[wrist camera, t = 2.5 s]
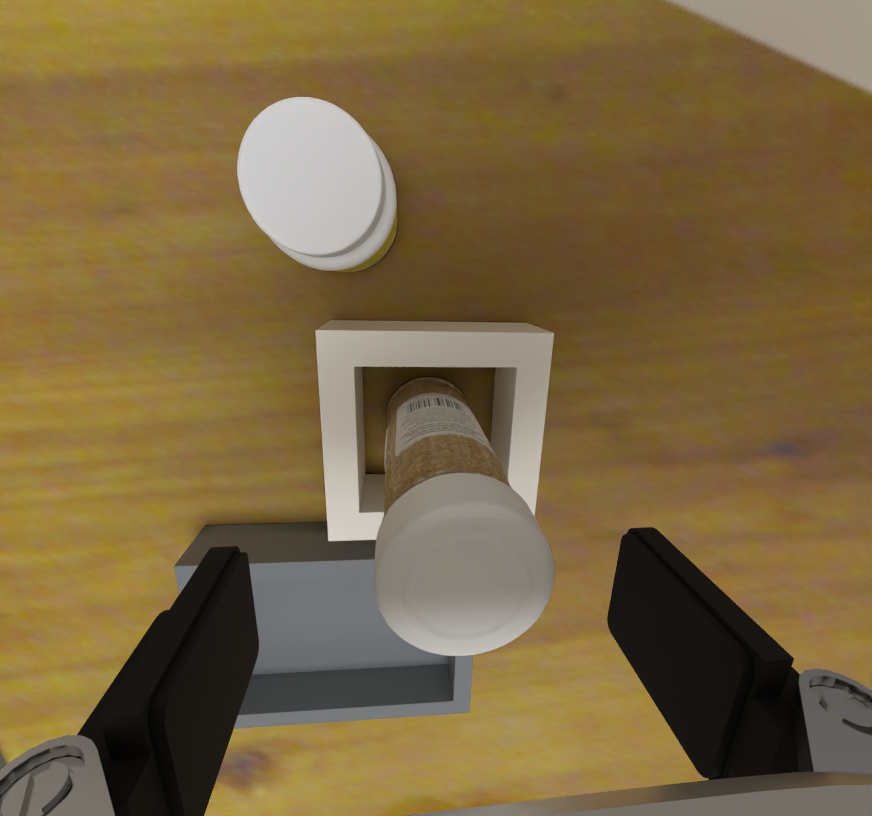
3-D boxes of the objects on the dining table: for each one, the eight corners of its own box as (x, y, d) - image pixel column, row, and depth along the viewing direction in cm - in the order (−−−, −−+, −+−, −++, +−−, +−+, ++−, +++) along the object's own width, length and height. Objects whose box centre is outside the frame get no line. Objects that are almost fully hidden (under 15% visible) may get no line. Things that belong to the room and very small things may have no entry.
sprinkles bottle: (376, 441, 23) (350, 649, 10) (400, 363, 22) (403, 487, 9) (455, 461, 24) (521, 678, 11) (482, 387, 23) (590, 533, 10)
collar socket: (527, 322, 22) (554, 333, 18) (512, 494, 25) (532, 534, 21) (330, 320, 21) (315, 330, 17) (339, 498, 24) (328, 541, 20)
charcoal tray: (468, 518, 25) (479, 555, 22) (461, 661, 28) (469, 712, 25) (205, 525, 24) (173, 566, 20) (229, 674, 27) (205, 730, 24)
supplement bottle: (418, 221, 20) (432, 187, 12) (349, 293, 21) (319, 305, 13) (342, 135, 19) (301, 32, 11) (272, 215, 19) (183, 174, 11)
